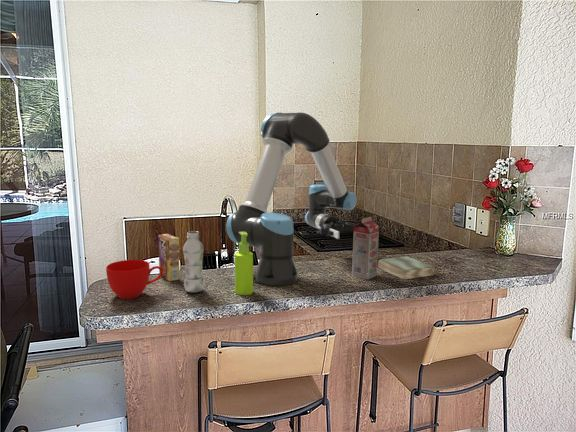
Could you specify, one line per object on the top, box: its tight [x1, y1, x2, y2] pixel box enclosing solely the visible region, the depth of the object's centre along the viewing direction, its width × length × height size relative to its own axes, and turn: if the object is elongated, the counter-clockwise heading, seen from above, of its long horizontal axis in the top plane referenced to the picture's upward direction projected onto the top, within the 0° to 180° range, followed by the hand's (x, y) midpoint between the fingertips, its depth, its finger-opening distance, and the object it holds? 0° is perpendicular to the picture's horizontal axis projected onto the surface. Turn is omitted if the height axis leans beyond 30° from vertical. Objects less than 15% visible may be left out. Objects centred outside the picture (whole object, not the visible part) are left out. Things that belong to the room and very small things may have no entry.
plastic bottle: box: [182, 230, 206, 294], centre depth 149 cm, size 6×7×20 cm
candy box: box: [157, 233, 181, 282], centre depth 164 cm, size 9×4×15 cm, turn 39°
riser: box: [377, 255, 436, 280], centre depth 176 cm, size 14×16×3 cm
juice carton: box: [351, 216, 380, 280], centre depth 168 cm, size 7×7×22 cm
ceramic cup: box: [105, 259, 162, 300], centre depth 147 cm, size 13×17×10 cm
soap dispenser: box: [234, 231, 254, 296], centre depth 150 cm, size 6×7×20 cm
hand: (353, 233), depth 179 cm, fingers open, 13 cm apart
